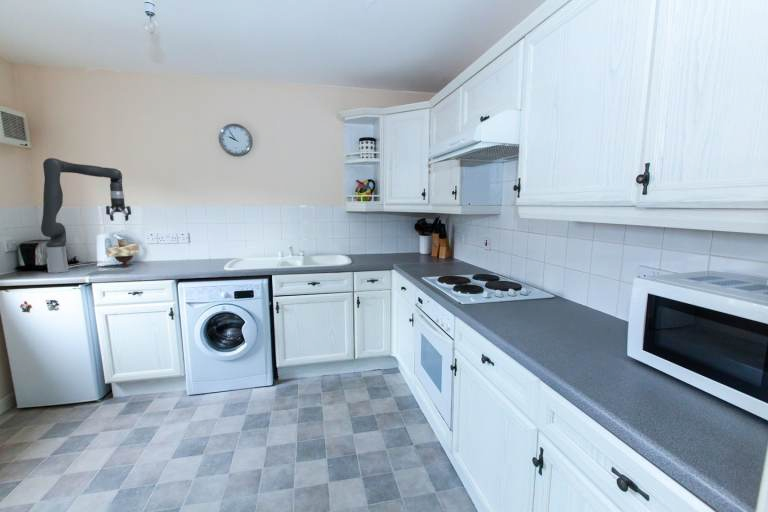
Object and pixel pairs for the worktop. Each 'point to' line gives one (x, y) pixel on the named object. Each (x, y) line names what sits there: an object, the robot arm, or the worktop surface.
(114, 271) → the mat
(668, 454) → the worktop surface
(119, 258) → the ice cream bowl
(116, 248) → the lid
